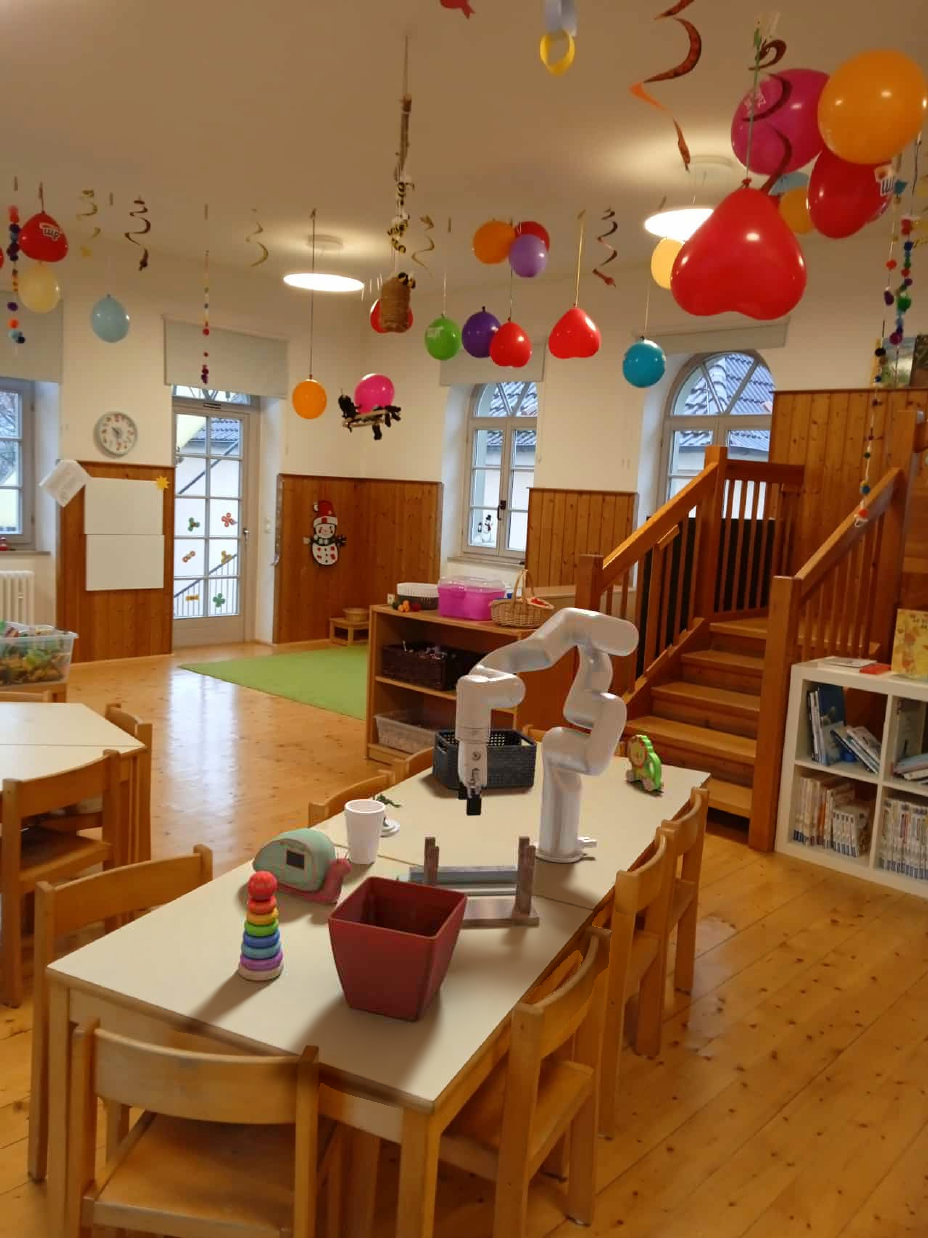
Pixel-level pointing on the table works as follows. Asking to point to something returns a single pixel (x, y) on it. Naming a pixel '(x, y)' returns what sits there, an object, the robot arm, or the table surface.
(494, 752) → the storage bin
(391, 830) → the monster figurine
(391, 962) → the plant pot
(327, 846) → the toy snail
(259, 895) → the stacking toy
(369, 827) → the foam cup
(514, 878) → the rail
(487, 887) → the mat
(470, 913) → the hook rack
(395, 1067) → the table surface
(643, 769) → the toy lion
